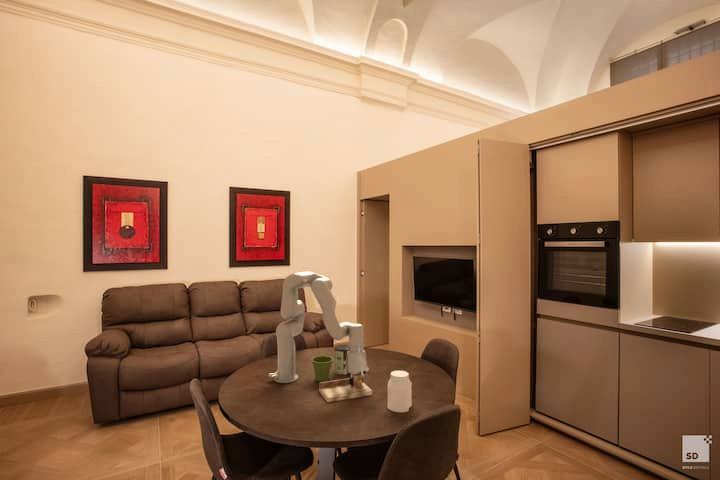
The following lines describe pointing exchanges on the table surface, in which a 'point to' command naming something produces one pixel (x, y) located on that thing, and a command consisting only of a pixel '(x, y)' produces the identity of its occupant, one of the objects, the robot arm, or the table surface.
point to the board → (342, 390)
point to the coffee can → (340, 358)
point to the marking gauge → (357, 380)
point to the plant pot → (322, 367)
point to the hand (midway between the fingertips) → (356, 384)
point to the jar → (399, 392)
